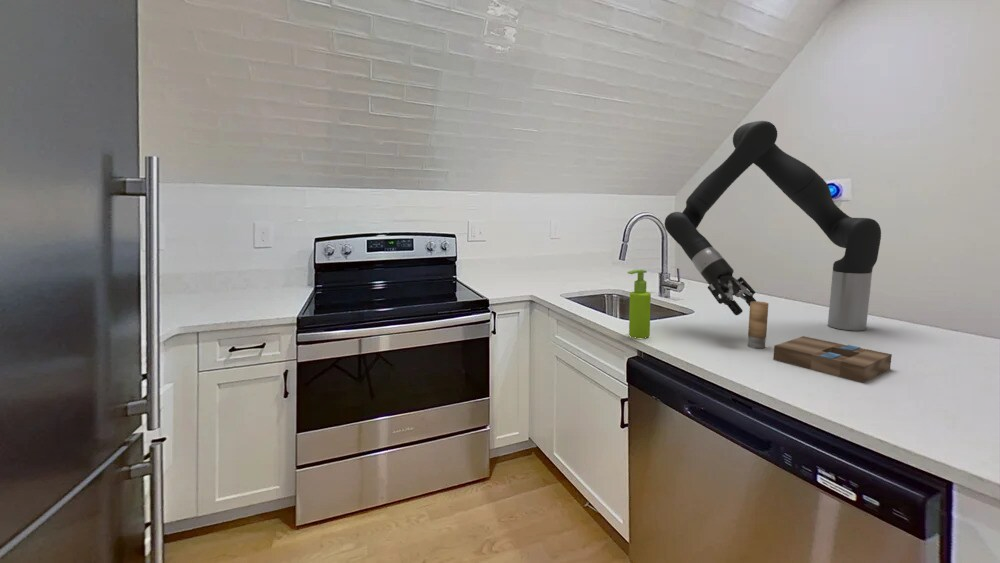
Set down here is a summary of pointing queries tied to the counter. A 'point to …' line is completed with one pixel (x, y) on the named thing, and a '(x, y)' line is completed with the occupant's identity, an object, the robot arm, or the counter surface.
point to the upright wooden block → (757, 324)
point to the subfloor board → (833, 358)
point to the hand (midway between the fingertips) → (748, 311)
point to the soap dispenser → (639, 307)
